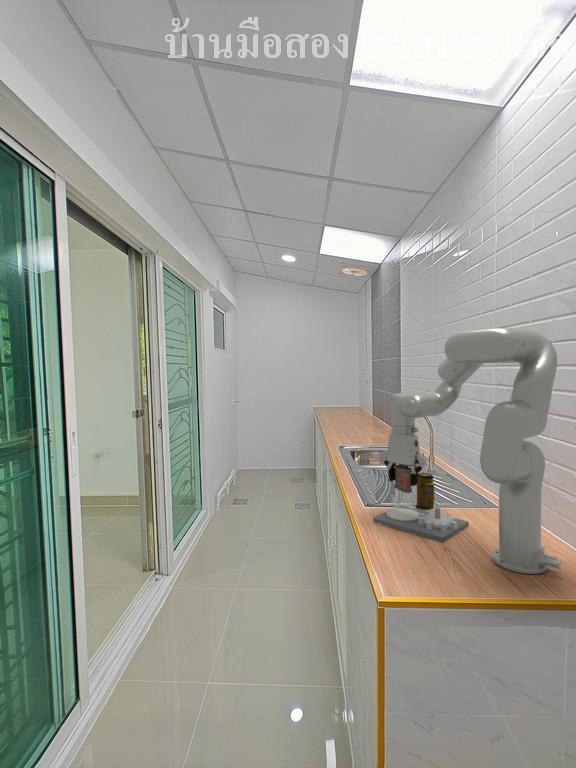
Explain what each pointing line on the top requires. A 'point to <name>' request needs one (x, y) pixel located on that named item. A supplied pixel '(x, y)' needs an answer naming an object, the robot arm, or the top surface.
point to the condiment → (425, 492)
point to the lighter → (403, 478)
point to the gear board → (419, 528)
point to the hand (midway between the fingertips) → (403, 482)
